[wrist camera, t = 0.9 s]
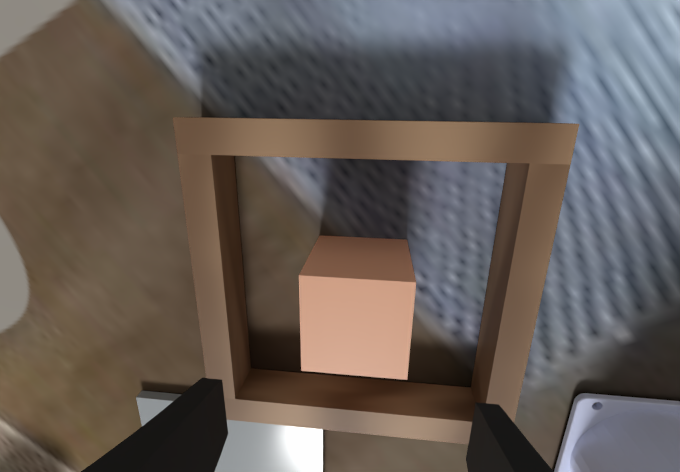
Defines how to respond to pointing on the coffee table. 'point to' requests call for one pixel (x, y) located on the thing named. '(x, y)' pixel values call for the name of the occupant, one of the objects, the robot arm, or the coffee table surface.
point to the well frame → (387, 144)
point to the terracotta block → (357, 307)
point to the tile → (254, 442)
